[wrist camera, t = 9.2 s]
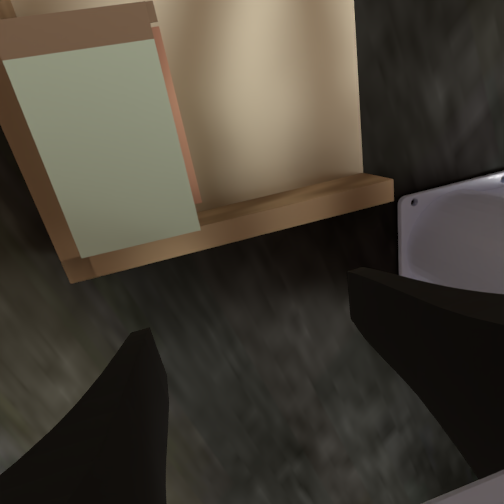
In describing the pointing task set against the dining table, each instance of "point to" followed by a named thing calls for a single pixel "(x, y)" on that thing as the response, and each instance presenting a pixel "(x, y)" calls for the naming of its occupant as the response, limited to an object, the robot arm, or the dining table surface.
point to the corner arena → (233, 121)
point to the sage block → (101, 123)
